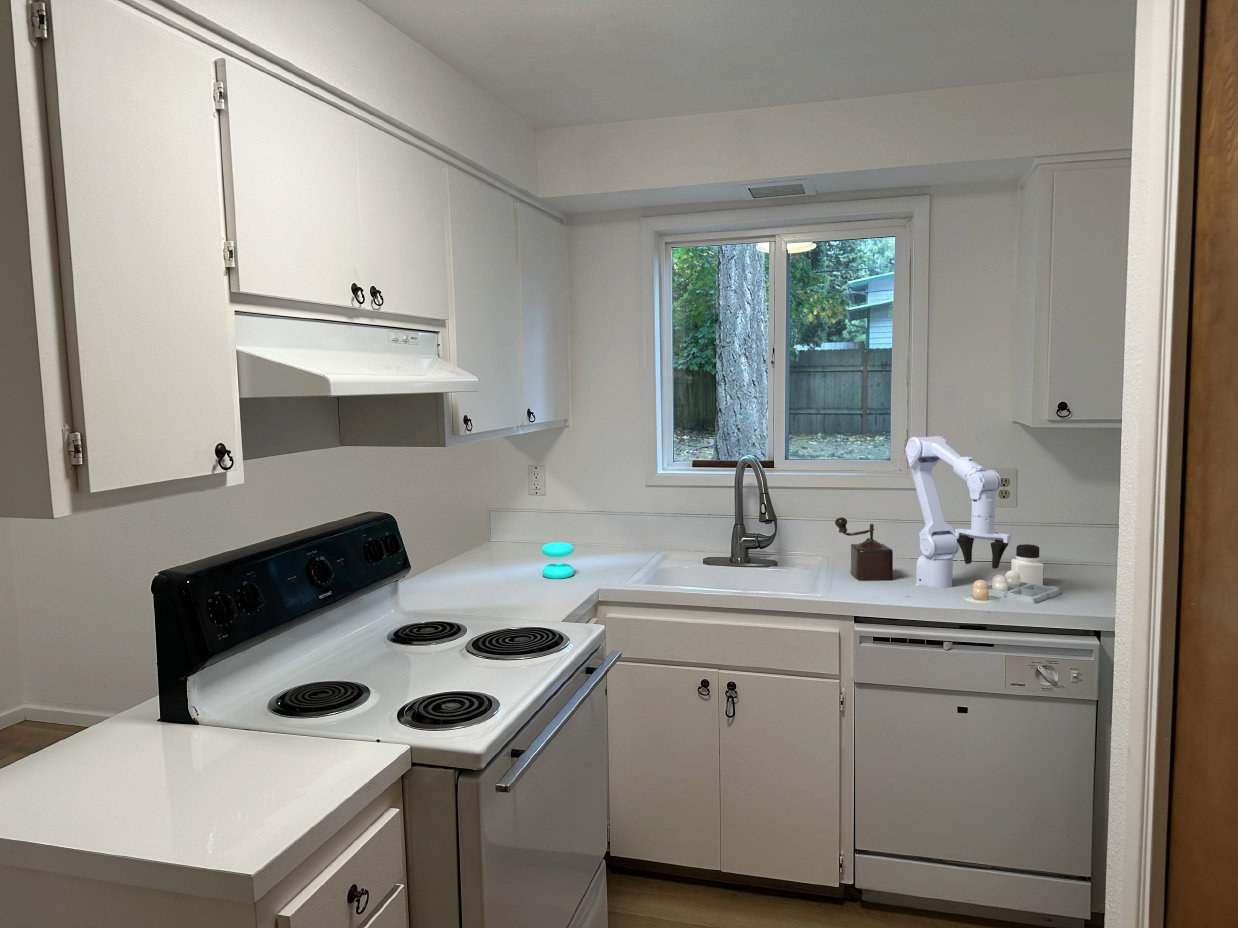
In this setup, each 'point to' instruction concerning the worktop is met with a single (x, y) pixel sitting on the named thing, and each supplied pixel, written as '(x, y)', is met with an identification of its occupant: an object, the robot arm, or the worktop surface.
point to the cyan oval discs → (558, 568)
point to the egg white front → (1000, 583)
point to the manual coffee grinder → (868, 556)
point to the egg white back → (1013, 578)
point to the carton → (1027, 592)
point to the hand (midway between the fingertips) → (981, 565)
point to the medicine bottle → (1028, 564)
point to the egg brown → (981, 590)
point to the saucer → (970, 598)
